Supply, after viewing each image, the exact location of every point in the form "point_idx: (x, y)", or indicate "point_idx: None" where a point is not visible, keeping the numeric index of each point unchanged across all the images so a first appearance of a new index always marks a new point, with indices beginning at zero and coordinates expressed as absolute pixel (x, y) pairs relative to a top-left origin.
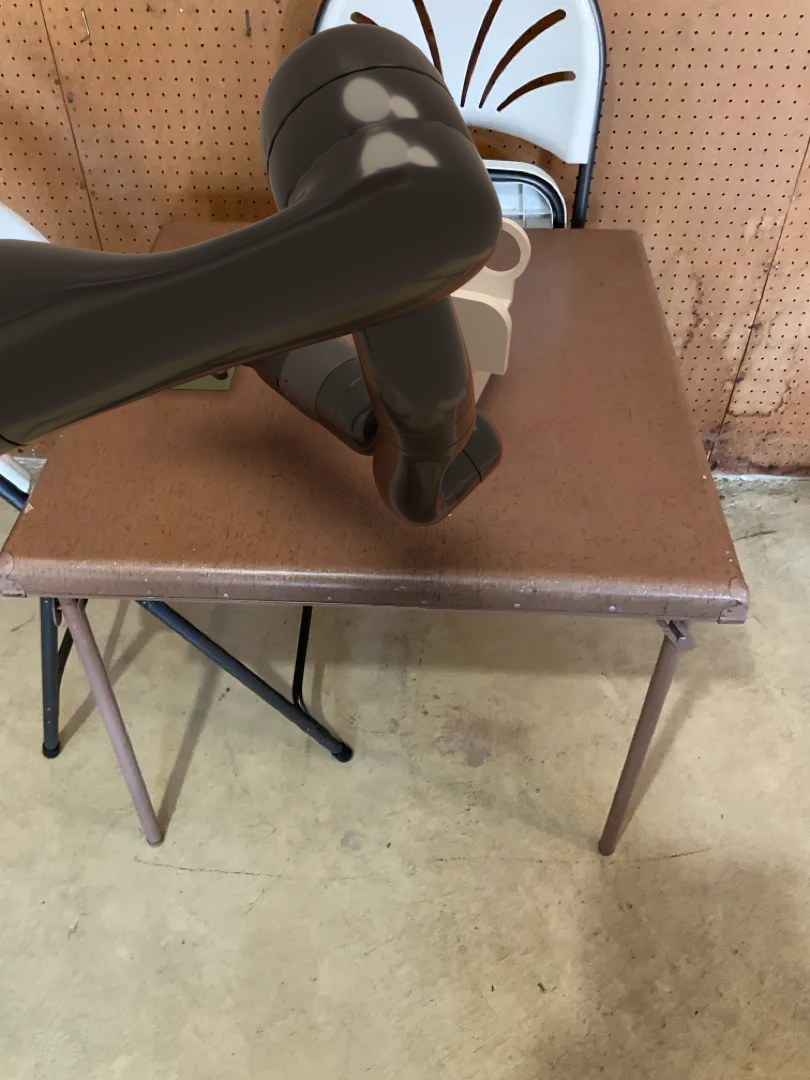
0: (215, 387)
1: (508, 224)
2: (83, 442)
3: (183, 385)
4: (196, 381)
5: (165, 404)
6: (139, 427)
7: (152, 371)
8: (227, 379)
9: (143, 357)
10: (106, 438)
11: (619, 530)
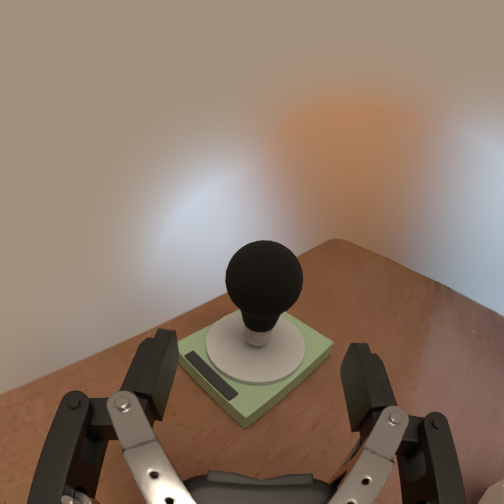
0: (233, 417)
1: None
2: (80, 375)
3: (205, 389)
4: (217, 397)
5: (171, 397)
6: None
7: None
8: (250, 420)
9: None
10: (93, 388)
11: None
